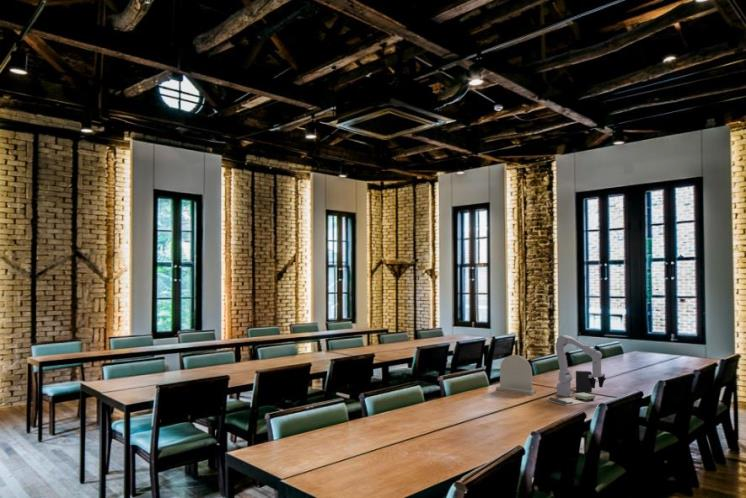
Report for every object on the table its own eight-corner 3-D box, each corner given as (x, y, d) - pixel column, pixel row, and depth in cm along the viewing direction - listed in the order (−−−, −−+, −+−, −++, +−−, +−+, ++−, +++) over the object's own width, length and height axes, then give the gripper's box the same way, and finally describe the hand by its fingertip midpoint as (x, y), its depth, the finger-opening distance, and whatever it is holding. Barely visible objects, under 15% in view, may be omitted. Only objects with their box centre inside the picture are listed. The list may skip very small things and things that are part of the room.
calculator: (590, 390, 398) (589, 371, 398) (592, 391, 393) (591, 372, 394) (575, 390, 399) (575, 370, 399) (577, 391, 394) (576, 371, 395)
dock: (548, 400, 363) (548, 397, 363) (569, 397, 372) (569, 394, 372) (566, 405, 349) (566, 402, 349) (587, 402, 358) (587, 399, 358)
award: (536, 393, 386) (535, 356, 388) (532, 395, 379) (531, 357, 381) (500, 388, 403) (500, 352, 404) (496, 390, 396) (495, 354, 397)
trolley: (573, 398, 370) (573, 393, 370) (583, 397, 375) (583, 392, 375) (585, 401, 361) (585, 396, 361) (595, 400, 366) (595, 395, 366)
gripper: (594, 369, 358) (594, 389, 358) (608, 368, 365) (608, 387, 364) (585, 368, 365) (586, 387, 364) (600, 366, 371) (600, 386, 370)
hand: (597, 387), depth 364 cm, fingers open, 7 cm apart
